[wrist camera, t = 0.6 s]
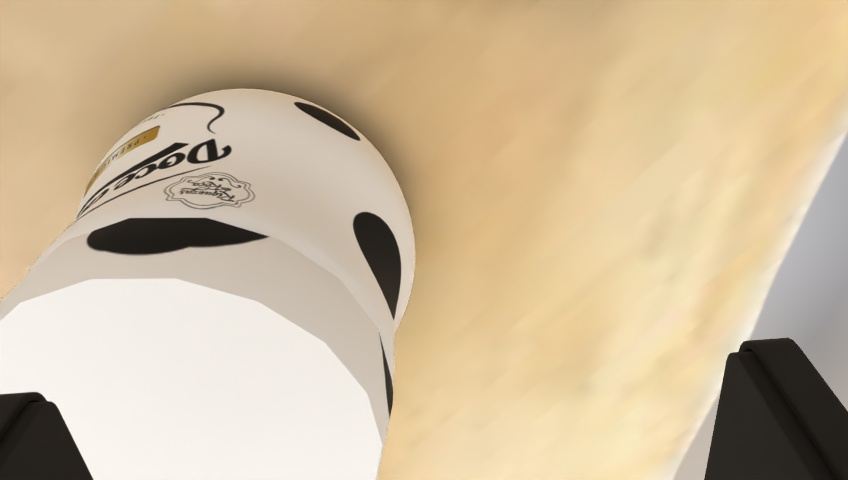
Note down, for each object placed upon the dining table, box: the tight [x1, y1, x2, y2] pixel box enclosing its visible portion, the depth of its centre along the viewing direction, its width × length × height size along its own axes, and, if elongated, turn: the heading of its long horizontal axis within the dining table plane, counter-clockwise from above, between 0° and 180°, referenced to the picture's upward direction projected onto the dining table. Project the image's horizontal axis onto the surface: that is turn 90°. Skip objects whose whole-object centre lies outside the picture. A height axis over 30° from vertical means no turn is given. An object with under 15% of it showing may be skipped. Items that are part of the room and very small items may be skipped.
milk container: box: [0, 89, 415, 480], centre depth 32 cm, size 17×17×18 cm
